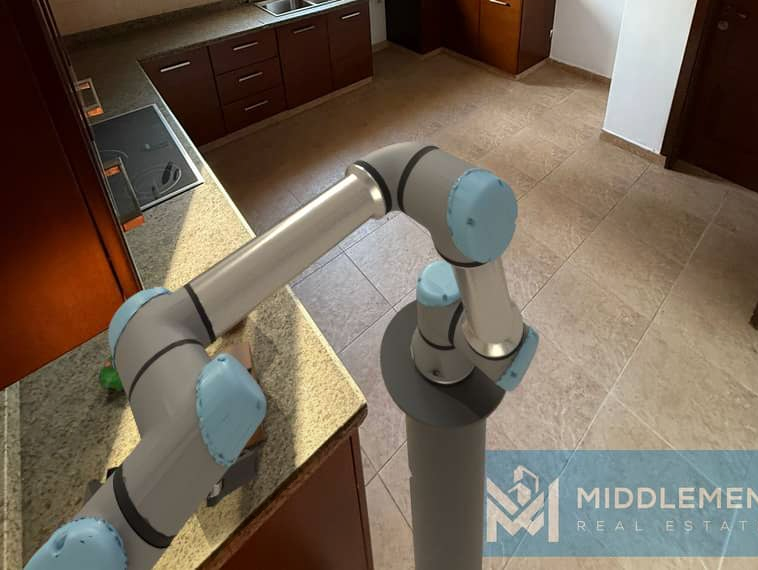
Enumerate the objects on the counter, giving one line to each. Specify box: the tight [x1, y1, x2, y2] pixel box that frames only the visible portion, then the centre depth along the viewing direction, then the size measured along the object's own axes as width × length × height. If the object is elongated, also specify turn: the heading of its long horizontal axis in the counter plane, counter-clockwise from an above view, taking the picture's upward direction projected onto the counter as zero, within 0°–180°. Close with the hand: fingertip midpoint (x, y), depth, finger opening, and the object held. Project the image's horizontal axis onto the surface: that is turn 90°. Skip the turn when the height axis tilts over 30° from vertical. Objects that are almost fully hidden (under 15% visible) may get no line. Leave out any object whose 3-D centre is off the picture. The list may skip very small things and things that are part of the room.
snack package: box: [98, 353, 124, 392], centre depth 100 cm, size 7×16×5 cm, turn 173°
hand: (191, 460), depth 60 cm, fingers open, 13 cm apart
